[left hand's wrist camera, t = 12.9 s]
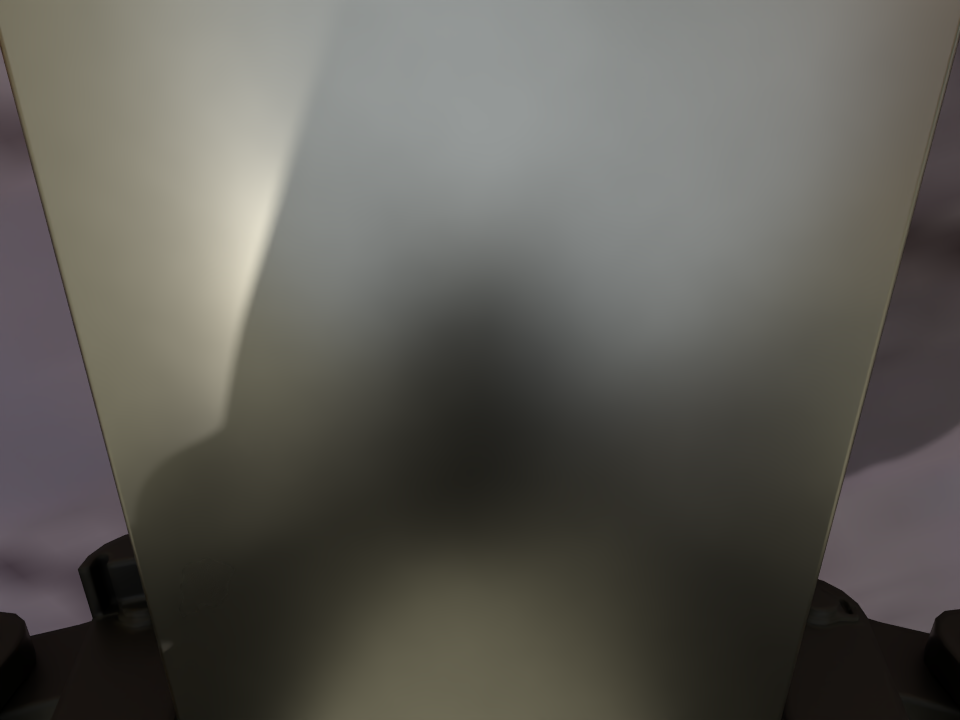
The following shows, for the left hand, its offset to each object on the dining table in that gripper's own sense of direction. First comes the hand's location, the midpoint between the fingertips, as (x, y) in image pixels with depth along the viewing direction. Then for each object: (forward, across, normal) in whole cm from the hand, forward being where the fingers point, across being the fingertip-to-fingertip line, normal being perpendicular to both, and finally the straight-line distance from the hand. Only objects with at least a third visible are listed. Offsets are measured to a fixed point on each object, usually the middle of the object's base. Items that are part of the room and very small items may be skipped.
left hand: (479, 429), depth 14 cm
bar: (+1, 0, -12) cm, 12 cm away
